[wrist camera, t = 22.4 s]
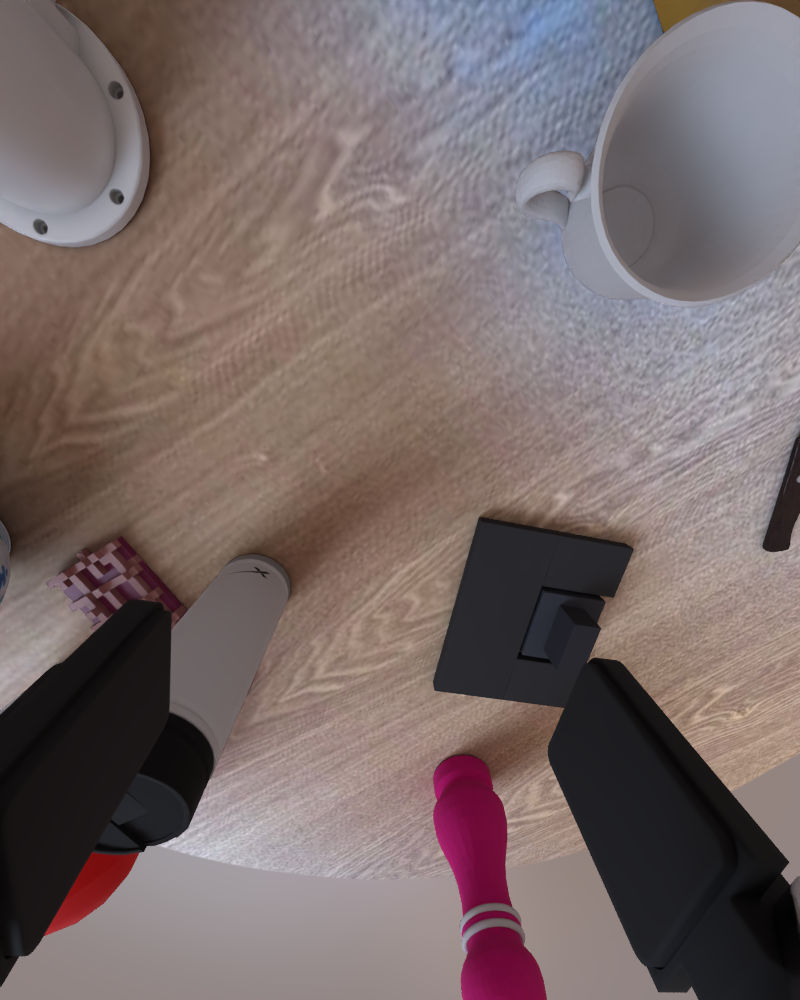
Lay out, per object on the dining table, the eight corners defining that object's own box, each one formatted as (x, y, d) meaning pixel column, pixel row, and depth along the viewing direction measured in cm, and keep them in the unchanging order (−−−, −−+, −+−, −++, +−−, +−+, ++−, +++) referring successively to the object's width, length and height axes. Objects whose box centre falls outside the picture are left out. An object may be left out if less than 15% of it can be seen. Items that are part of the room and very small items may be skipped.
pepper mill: (415, 780, 43) (441, 1099, 24) (458, 740, 42) (522, 1047, 23) (463, 807, 45) (522, 1126, 26) (506, 770, 43) (603, 1079, 24)
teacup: (487, 132, 26) (547, -13, 16) (705, 135, 26) (888, -2, 17) (477, 329, 29) (522, 306, 20) (668, 329, 30) (802, 306, 20)
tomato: (191, 840, 40) (174, 726, 37) (29, 1039, 27) (-16, 890, 24) (86, 793, 45) (64, 690, 42) (-92, 943, 32) (-141, 809, 29)
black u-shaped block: (478, 516, 34) (482, 521, 33) (626, 543, 35) (634, 549, 34) (432, 681, 39) (434, 690, 38) (562, 699, 41) (568, 708, 39)
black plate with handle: (539, 585, 36) (558, 610, 32) (599, 595, 37) (625, 621, 33) (518, 647, 38) (533, 678, 34) (574, 655, 39) (596, 687, 35)
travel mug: (264, 538, 34) (110, 746, 15) (304, 596, 36) (212, 849, 17) (204, 568, 34) (-19, 806, 15) (246, 624, 36) (94, 898, 17)
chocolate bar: (116, 529, 33) (100, 539, 31) (252, 683, 38) (245, 699, 36) (51, 569, 34) (32, 581, 32) (193, 714, 39) (183, 731, 37)
